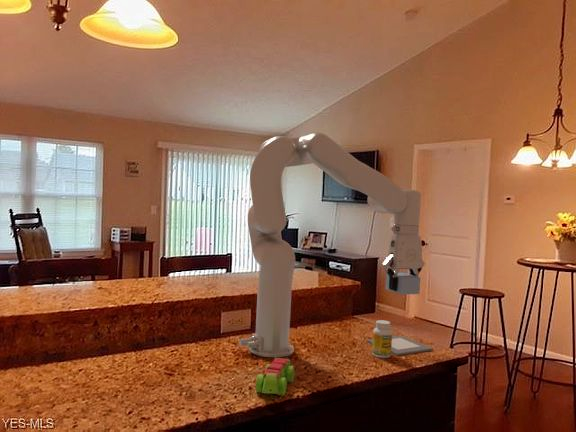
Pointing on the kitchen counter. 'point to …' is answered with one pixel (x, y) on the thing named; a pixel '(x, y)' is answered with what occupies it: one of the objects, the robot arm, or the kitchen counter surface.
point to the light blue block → (405, 284)
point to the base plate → (405, 346)
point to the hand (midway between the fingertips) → (402, 288)
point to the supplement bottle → (382, 339)
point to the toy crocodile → (275, 377)
